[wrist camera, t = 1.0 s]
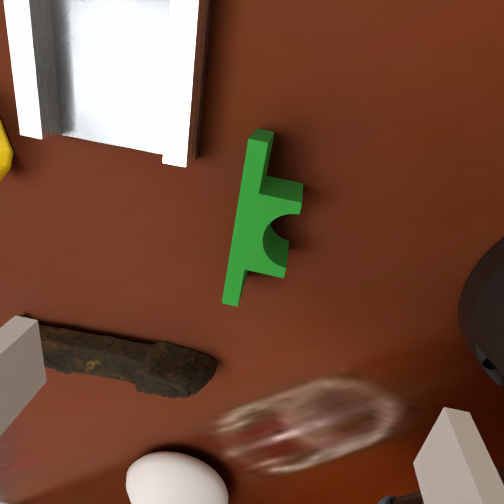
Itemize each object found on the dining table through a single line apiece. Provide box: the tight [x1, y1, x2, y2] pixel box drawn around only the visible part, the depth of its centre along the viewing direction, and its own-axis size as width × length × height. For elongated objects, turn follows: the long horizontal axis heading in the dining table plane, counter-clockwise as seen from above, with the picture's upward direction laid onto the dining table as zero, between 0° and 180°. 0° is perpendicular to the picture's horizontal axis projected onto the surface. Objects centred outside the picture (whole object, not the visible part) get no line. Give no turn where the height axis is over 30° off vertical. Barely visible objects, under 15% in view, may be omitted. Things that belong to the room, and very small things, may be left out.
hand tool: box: [17, 315, 218, 398], centre depth 33 cm, size 19×4×5 cm, turn 83°
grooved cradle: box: [4, 0, 212, 167], centre depth 22 cm, size 11×11×3 cm
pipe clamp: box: [222, 128, 303, 307], centre depth 25 cm, size 11×4×5 cm, turn 170°
